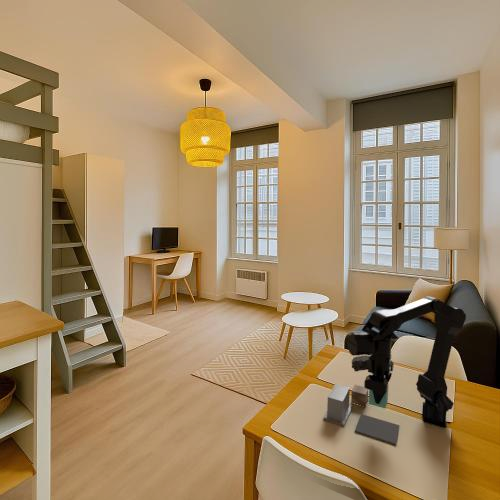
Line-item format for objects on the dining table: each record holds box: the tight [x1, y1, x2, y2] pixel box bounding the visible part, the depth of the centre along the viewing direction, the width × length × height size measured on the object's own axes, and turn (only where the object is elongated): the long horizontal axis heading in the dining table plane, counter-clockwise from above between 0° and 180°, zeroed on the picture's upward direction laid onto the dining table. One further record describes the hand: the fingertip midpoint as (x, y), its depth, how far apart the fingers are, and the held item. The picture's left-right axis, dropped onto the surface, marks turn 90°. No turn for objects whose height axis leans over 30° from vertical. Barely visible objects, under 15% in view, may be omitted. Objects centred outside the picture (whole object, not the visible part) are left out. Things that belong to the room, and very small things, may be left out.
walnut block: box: [350, 384, 369, 408], centre depth 117 cm, size 5×5×5 cm
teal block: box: [368, 389, 389, 409], centre depth 101 cm, size 5×5×5 cm
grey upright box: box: [322, 383, 353, 427], centre depth 110 cm, size 7×12×8 cm, turn 150°
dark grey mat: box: [354, 413, 400, 446], centre depth 102 cm, size 12×10×1 cm
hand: (378, 399), depth 101 cm, fingers closed on teal block, 5 cm apart
